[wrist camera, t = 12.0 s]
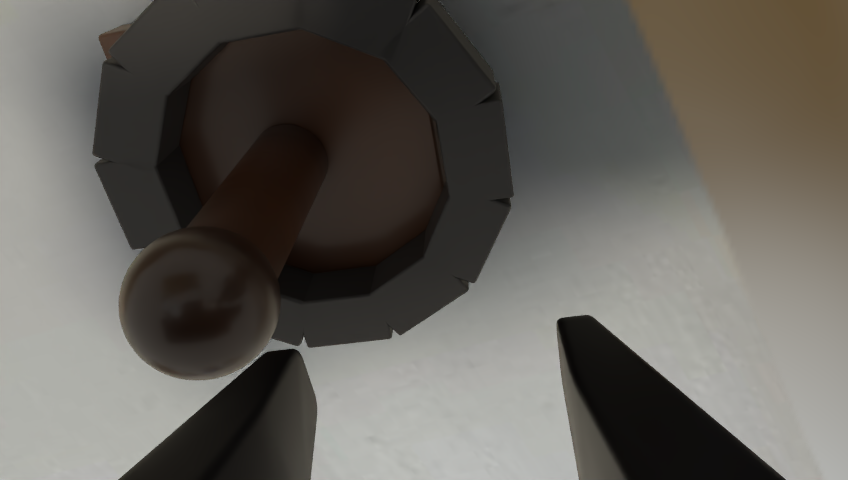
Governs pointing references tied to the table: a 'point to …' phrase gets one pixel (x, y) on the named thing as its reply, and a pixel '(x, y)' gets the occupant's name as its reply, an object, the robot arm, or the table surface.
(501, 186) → the hoop
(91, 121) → the table surface
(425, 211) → the peg stand
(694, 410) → the robot arm
